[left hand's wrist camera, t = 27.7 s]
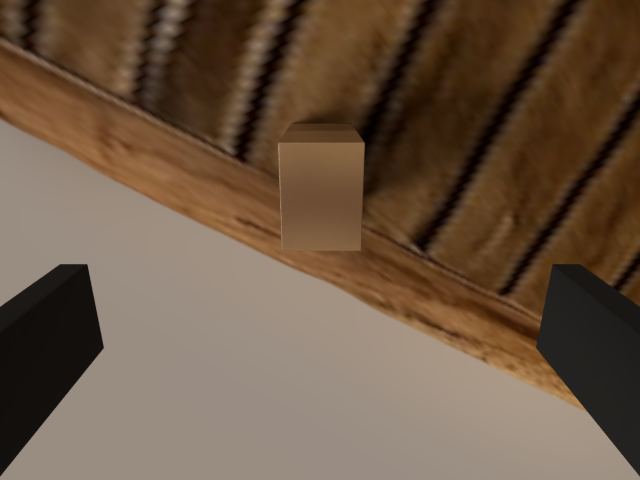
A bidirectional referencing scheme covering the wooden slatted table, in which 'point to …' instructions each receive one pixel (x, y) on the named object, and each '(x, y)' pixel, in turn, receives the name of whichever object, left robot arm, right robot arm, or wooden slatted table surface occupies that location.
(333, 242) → the brick
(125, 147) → the wooden slatted table surface
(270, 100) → the wooden slatted table surface
